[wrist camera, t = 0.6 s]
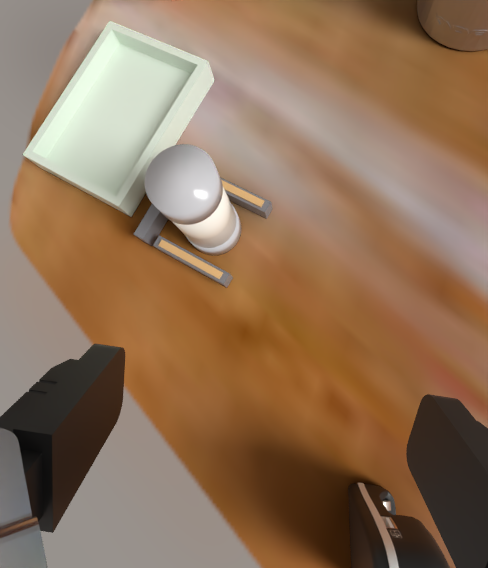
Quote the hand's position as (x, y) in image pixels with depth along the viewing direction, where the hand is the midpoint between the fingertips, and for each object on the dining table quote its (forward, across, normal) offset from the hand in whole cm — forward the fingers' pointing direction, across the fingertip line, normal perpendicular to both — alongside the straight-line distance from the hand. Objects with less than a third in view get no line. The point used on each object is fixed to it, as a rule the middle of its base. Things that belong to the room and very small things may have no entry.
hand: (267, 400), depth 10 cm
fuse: (+24, +4, 0) cm, 25 cm away
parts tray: (+30, +15, -8) cm, 34 cm away
